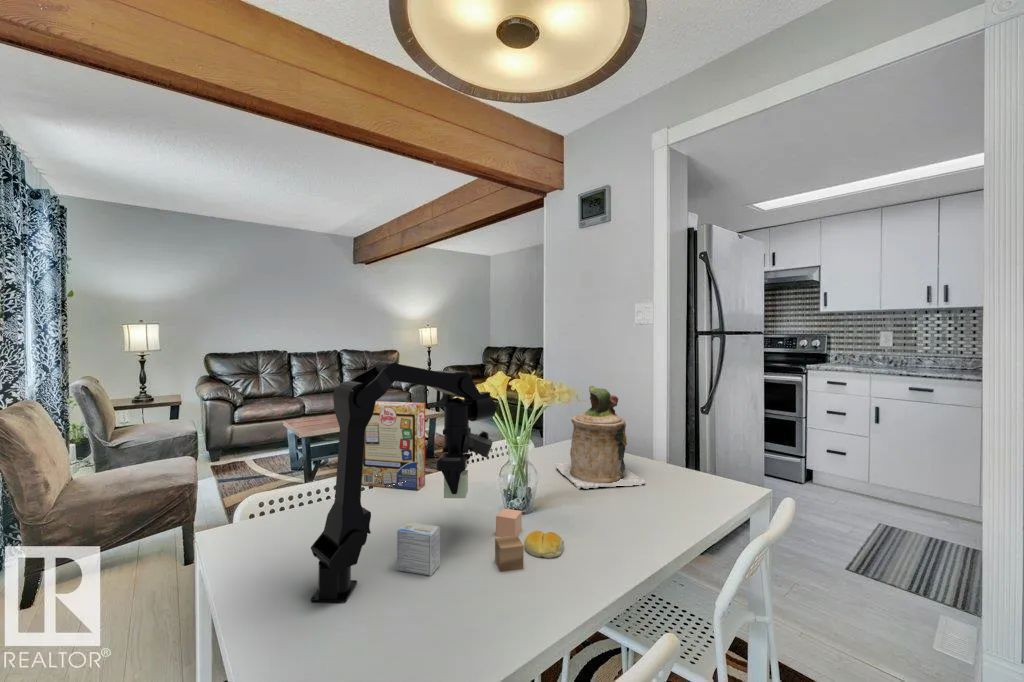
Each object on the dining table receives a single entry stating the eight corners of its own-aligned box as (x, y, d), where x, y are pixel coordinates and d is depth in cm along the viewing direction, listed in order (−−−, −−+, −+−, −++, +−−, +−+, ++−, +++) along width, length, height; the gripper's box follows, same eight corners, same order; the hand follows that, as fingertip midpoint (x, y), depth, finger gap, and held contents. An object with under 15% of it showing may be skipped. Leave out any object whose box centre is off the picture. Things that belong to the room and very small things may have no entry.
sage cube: (465, 498, 101) (465, 476, 101) (443, 498, 101) (444, 476, 101) (467, 490, 106) (467, 470, 106) (447, 490, 106) (447, 469, 106)
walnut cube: (523, 569, 93) (523, 545, 93) (500, 572, 91) (500, 548, 91) (516, 557, 97) (517, 535, 97) (494, 560, 96) (495, 537, 96)
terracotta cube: (515, 539, 106) (515, 518, 106) (495, 536, 108) (496, 515, 108) (521, 530, 111) (521, 511, 111) (503, 527, 112) (503, 508, 112)
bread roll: (528, 539, 106) (529, 523, 106) (565, 545, 104) (565, 528, 104) (519, 556, 98) (519, 538, 98) (559, 562, 96) (559, 544, 96)
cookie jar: (578, 491, 139) (580, 391, 139) (552, 468, 163) (553, 383, 163) (648, 486, 145) (649, 389, 145) (613, 464, 169) (614, 382, 169)
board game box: (425, 484, 144) (426, 402, 144) (417, 491, 138) (418, 405, 137) (369, 479, 148) (369, 399, 148) (358, 485, 142) (359, 402, 142)
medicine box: (440, 566, 93) (440, 525, 93) (430, 577, 89) (431, 534, 89) (406, 560, 95) (407, 521, 95) (396, 571, 91) (396, 529, 91)
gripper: (488, 433, 94) (487, 505, 94) (492, 417, 113) (492, 477, 113) (436, 432, 94) (435, 505, 94) (449, 416, 113) (448, 477, 113)
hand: (455, 489), depth 104 cm, fingers closed on sage cube, 5 cm apart
